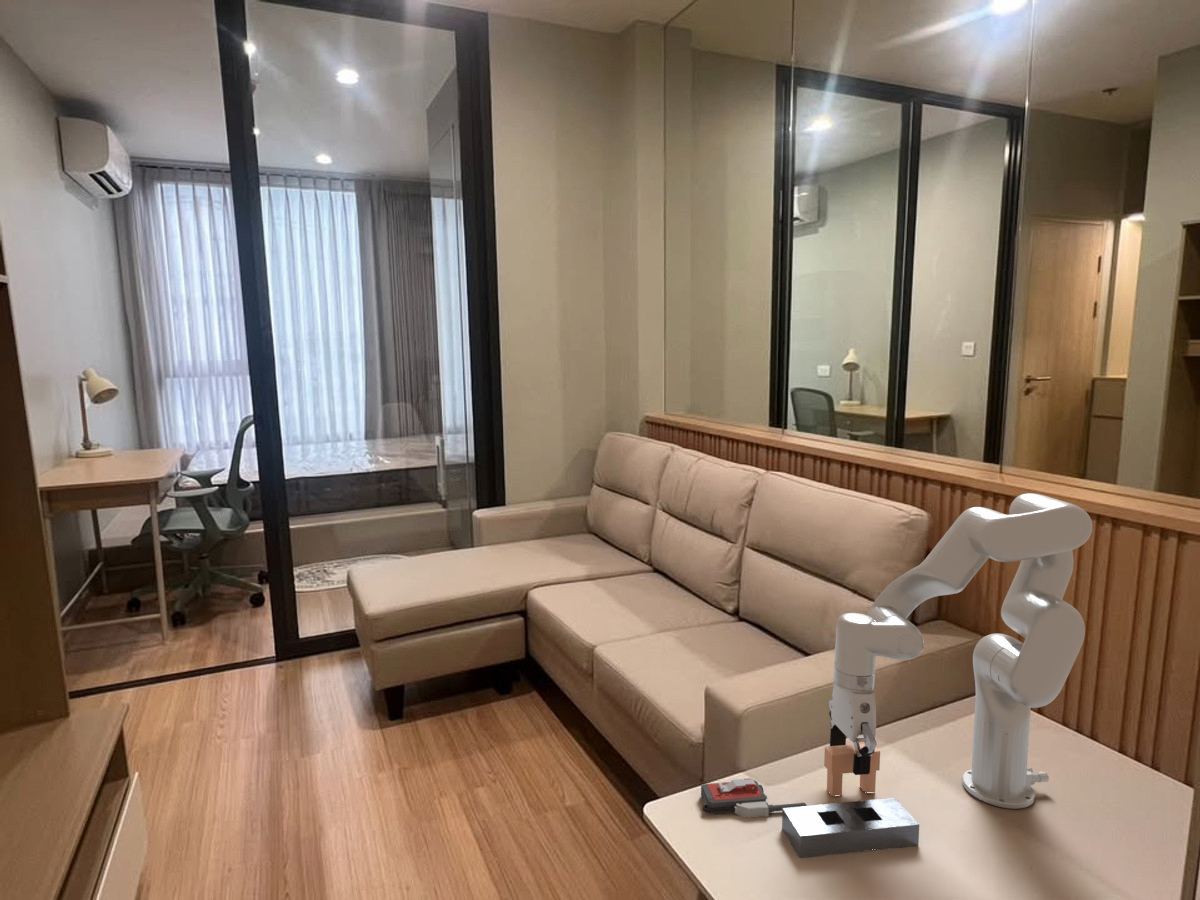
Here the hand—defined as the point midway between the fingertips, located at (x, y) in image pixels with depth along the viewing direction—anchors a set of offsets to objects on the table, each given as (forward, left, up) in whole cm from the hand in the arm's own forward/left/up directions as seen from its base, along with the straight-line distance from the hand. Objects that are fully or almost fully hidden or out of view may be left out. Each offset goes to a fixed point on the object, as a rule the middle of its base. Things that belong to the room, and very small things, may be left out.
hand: (849, 759), depth 142 cm
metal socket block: (+6, +13, -7) cm, 16 cm away
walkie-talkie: (+21, +1, -7) cm, 22 cm away
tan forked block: (-1, 0, -7) cm, 7 cm away
